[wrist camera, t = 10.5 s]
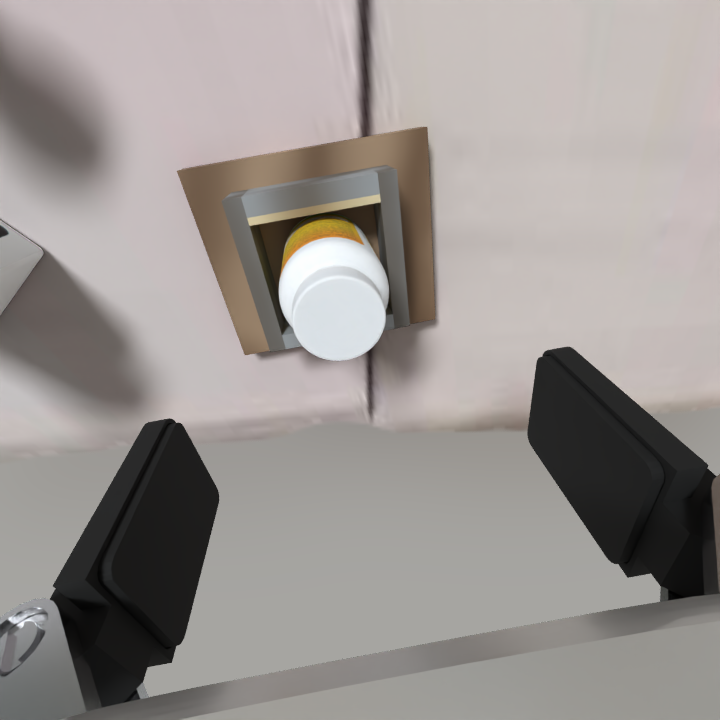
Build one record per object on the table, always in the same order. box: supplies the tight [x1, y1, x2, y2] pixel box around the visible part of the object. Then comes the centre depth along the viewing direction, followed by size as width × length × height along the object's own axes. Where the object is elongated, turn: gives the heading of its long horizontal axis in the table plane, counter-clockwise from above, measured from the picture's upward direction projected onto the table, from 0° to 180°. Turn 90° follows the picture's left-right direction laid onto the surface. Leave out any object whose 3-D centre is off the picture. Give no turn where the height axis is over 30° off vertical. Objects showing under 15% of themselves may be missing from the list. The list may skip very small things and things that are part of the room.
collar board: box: [177, 127, 435, 355], centre depth 23 cm, size 14×12×4 cm
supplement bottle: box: [279, 212, 389, 361], centre depth 20 cm, size 5×5×10 cm
